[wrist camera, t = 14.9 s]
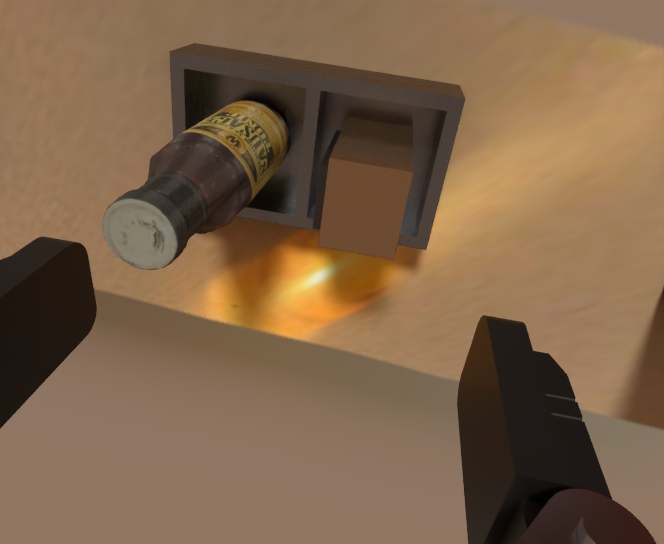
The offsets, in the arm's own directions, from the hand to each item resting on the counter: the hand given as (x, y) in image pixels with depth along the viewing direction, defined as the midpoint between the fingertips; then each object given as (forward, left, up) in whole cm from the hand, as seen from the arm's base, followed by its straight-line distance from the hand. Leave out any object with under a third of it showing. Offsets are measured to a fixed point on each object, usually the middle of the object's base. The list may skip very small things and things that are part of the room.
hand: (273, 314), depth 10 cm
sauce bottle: (+9, +7, -33) cm, 35 cm away
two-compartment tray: (+4, +7, -33) cm, 34 cm away
